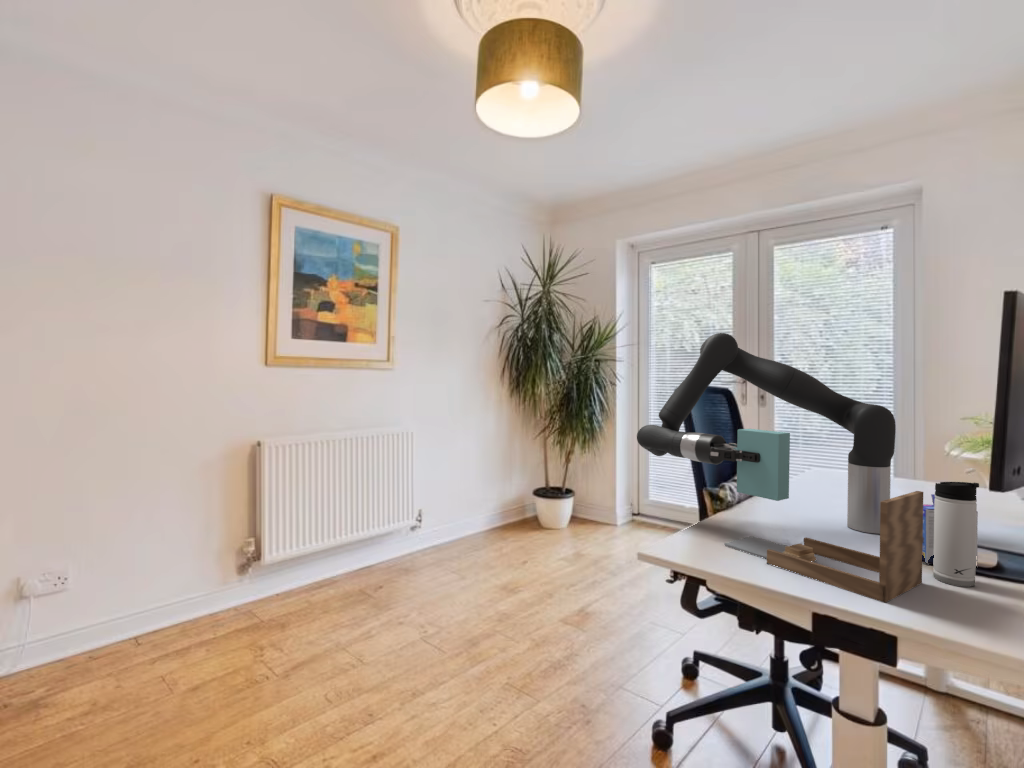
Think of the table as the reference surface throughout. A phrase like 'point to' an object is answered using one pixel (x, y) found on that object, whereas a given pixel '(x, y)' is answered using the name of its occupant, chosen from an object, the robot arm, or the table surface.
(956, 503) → the travel mug
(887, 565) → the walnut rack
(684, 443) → the robot arm
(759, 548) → the slate mat
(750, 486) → the teal panel
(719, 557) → the table surface
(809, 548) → the offcut stack
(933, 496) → the ink cartridge box
